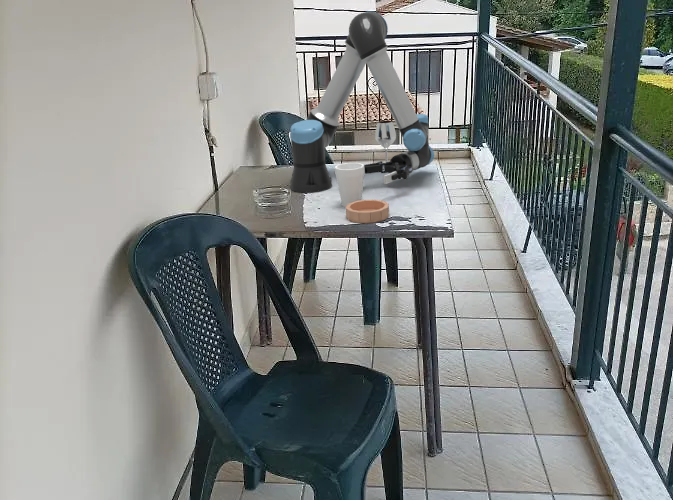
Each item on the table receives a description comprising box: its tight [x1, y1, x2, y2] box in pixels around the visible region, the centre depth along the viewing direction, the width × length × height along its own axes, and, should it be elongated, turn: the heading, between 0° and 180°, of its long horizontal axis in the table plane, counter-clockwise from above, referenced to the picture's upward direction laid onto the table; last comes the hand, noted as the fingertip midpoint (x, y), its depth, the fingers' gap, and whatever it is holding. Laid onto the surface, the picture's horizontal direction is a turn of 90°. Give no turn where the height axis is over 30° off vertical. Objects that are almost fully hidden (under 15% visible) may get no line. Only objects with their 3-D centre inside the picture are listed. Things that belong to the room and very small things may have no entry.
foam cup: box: [334, 162, 365, 208], centre depth 207 cm, size 10×9×13 cm
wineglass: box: [374, 119, 397, 170], centre depth 250 cm, size 8×8×18 cm
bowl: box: [345, 199, 390, 224], centre depth 197 cm, size 13×13×3 cm
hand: (368, 177), depth 213 cm, fingers open, 13 cm apart
